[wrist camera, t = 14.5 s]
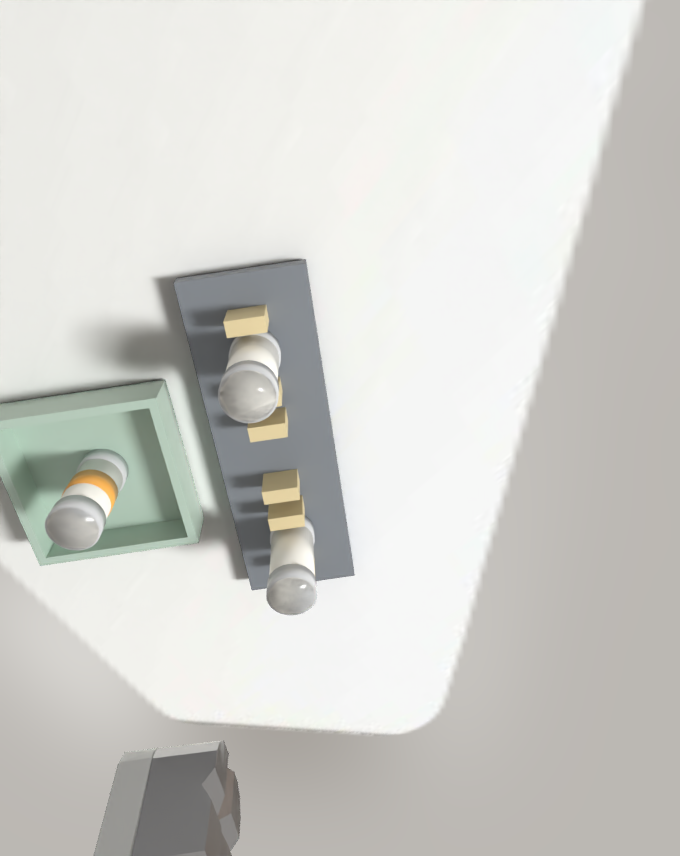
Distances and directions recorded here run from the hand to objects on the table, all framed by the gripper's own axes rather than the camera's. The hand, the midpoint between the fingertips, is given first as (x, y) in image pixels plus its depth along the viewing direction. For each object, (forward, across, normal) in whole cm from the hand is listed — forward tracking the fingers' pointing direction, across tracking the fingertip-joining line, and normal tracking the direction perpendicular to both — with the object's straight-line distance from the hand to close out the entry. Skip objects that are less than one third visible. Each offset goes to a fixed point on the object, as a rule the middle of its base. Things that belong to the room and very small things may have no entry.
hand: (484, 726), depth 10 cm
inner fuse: (+31, +6, +5) cm, 32 cm away
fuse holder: (+32, +6, +12) cm, 35 cm away
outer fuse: (+31, +6, +19) cm, 37 cm away
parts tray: (+32, +18, +12) cm, 39 cm away
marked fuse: (+32, +18, +12) cm, 38 cm away
